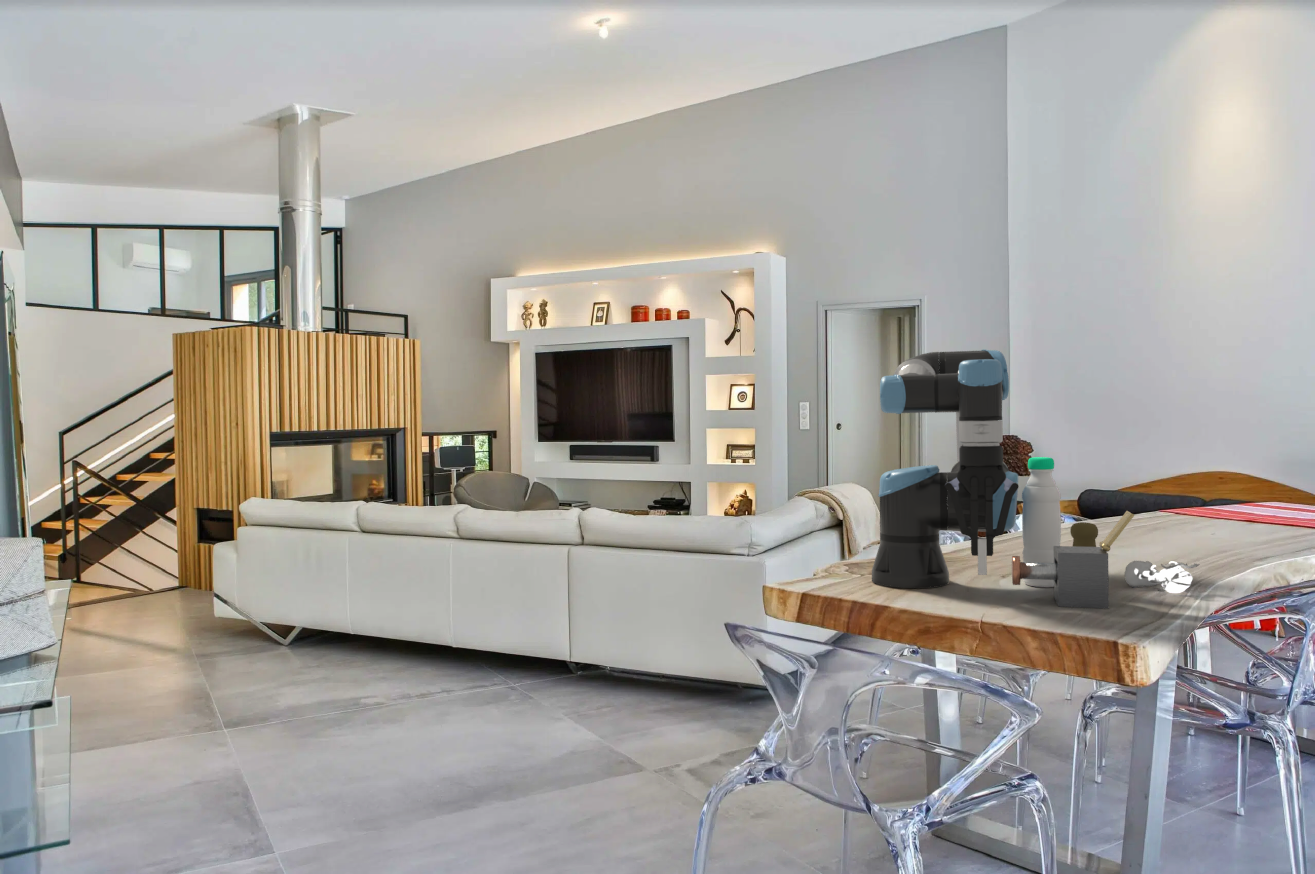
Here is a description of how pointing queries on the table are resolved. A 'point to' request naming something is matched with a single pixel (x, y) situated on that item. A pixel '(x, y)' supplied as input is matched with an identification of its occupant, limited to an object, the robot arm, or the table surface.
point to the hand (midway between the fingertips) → (982, 573)
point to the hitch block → (1081, 577)
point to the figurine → (1159, 575)
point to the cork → (1084, 534)
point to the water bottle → (1040, 516)
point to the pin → (1032, 570)
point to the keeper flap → (1116, 531)
